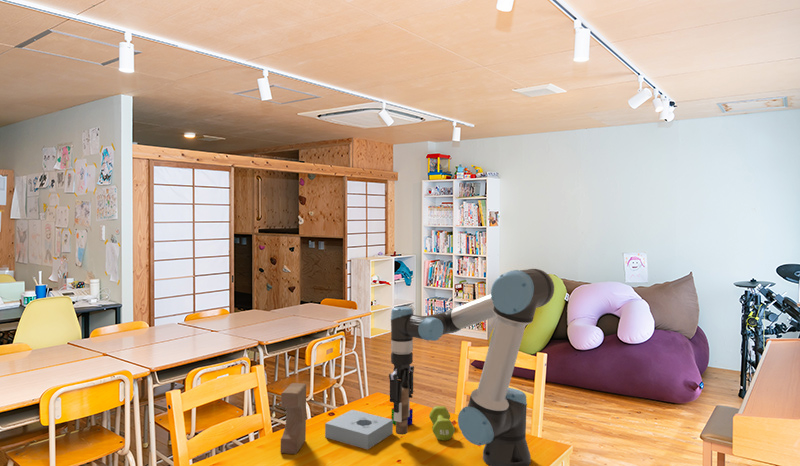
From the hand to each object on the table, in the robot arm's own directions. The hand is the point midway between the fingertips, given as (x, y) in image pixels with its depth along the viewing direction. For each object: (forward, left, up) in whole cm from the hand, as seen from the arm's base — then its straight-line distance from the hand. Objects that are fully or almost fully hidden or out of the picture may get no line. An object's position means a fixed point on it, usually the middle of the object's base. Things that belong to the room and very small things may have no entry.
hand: (401, 418), depth 187 cm
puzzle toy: (+8, -14, -8) cm, 18 cm away
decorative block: (+28, +24, -8) cm, 38 cm away
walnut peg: (0, 0, -5) cm, 5 cm away
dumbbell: (-8, -15, -8) cm, 19 cm away
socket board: (+15, +4, -8) cm, 17 cm away
